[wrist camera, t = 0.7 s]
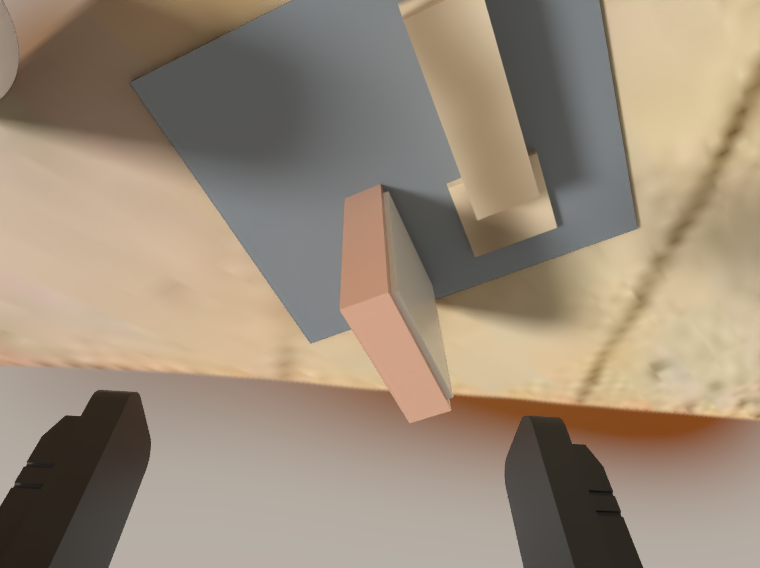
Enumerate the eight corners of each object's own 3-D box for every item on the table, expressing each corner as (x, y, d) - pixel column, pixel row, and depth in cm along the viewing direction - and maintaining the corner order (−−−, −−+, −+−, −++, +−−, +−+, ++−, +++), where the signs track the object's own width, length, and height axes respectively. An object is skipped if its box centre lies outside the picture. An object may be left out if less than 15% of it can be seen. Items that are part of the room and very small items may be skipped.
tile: (385, 182, 30) (394, 289, 22) (434, 286, 34) (457, 408, 26) (344, 198, 31) (339, 309, 22) (397, 299, 35) (409, 423, 27)
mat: (573, -143, 22) (575, -143, 22) (635, 226, 33) (637, 228, 32) (131, 81, 27) (129, 83, 26) (310, 340, 37) (310, 343, 37)
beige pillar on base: (483, -39, 24) (502, -27, 21) (554, 222, 32) (576, 260, 29) (379, 11, 25) (382, 30, 22) (473, 252, 33) (485, 291, 30)
